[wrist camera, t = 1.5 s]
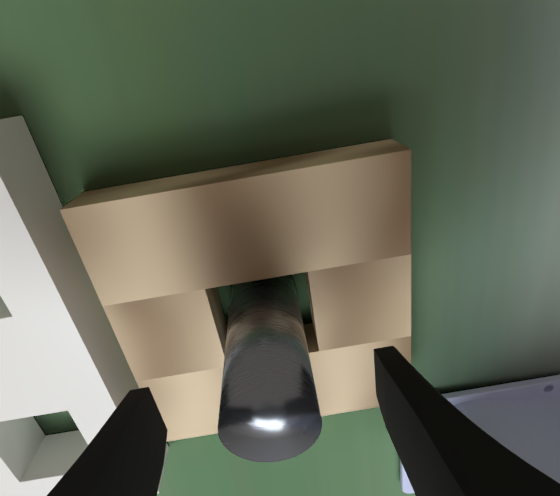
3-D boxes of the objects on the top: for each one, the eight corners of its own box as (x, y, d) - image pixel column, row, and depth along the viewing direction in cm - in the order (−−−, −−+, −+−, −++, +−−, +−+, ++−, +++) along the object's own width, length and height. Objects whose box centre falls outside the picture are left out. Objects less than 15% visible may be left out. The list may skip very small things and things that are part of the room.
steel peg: (291, 260, 16) (315, 382, 10) (300, 315, 18) (326, 453, 11) (224, 271, 16) (206, 400, 10) (238, 326, 18) (229, 469, 11)
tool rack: (22, 115, 13) (-26, 125, 11) (168, 447, 21) (159, 493, 19) (-200, 154, 13) (-293, 172, 11) (29, 470, 21) (3, 518, 19)
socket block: (391, 138, 14) (411, 149, 13) (396, 370, 20) (411, 401, 18) (83, 191, 14) (59, 209, 13) (171, 407, 20) (163, 442, 18)
